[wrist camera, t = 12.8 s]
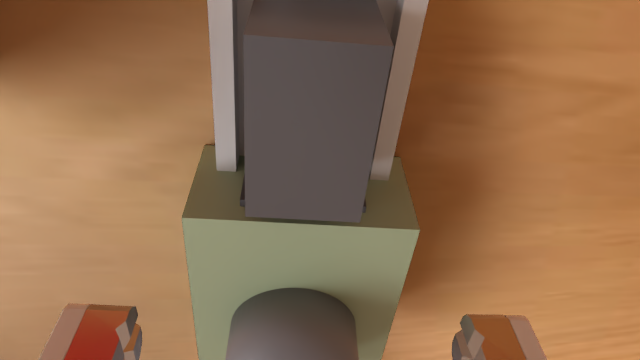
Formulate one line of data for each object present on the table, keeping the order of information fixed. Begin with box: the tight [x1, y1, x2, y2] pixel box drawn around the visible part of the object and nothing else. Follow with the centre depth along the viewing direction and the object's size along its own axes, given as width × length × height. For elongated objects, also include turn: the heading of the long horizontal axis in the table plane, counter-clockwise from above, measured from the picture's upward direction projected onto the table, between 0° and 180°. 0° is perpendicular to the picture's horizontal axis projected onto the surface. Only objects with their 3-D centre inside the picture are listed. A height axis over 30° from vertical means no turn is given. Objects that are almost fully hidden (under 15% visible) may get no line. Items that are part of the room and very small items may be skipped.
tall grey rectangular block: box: [243, 0, 394, 223], centre depth 20 cm, size 5×8×6 cm, turn 175°
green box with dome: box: [182, 0, 429, 360], centre depth 23 cm, size 25×11×10 cm, turn 175°
